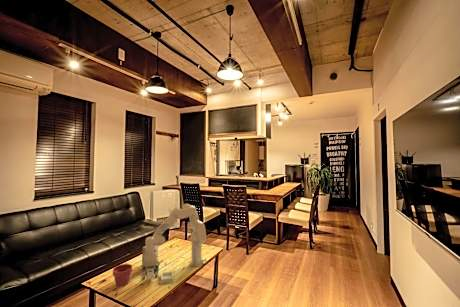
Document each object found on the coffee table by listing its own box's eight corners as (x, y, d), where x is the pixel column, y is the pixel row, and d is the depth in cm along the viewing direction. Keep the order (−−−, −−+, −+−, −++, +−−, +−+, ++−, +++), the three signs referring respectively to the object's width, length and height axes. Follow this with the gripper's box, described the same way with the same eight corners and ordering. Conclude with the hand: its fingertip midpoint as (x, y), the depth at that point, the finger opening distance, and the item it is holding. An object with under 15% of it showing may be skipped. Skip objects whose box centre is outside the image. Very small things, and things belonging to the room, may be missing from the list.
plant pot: (127, 277, 188) (127, 261, 188) (135, 282, 179) (135, 267, 179) (109, 284, 177) (109, 268, 177) (117, 291, 168) (117, 274, 168)
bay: (158, 271, 198) (158, 265, 198) (157, 277, 187) (157, 271, 187) (145, 272, 195) (145, 267, 195) (143, 279, 185) (143, 273, 185)
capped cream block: (154, 273, 188) (154, 263, 188) (153, 278, 181) (153, 268, 181) (148, 274, 187) (147, 264, 187) (146, 279, 179) (146, 269, 179)
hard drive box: (149, 270, 199) (149, 248, 199) (141, 269, 200) (141, 247, 201) (158, 262, 214) (158, 242, 215) (151, 261, 216) (151, 241, 216)
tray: (173, 274, 191) (173, 271, 191) (172, 281, 180) (173, 278, 180) (161, 276, 189) (161, 272, 189) (160, 283, 178) (160, 279, 178)
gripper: (161, 249, 189) (161, 270, 189) (140, 251, 186) (140, 272, 185) (160, 252, 182) (161, 274, 182) (138, 255, 178) (139, 277, 178)
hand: (150, 273), depth 184 cm, fingers closed on capped cream block, 5 cm apart
